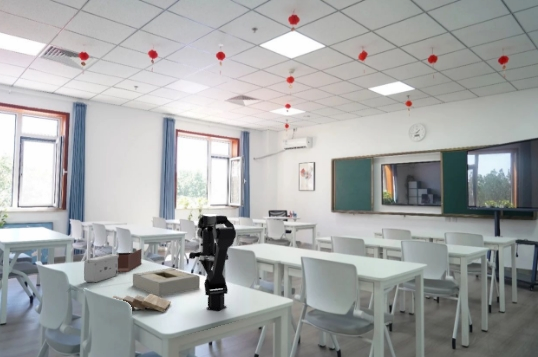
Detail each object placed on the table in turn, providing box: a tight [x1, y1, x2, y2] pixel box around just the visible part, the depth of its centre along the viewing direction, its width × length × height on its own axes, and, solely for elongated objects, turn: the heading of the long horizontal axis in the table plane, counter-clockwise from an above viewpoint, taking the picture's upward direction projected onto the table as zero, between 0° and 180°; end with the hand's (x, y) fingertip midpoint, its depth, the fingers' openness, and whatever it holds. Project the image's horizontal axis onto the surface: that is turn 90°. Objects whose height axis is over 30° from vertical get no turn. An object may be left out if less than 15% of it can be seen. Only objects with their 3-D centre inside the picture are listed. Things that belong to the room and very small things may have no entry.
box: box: [132, 267, 201, 297], centre depth 197 cm, size 23×8×32 cm
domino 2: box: [123, 295, 147, 311], centre depth 158 cm, size 2×5×10 cm
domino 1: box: [112, 295, 135, 311], centre depth 157 cm, size 2×5×10 cm
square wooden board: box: [142, 293, 172, 313], centre depth 158 cm, size 2×10×10 cm
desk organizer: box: [115, 248, 143, 273], centre depth 251 cm, size 10×29×11 cm, turn 3°
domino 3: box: [133, 294, 156, 311], centre depth 158 cm, size 2×5×10 cm
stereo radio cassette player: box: [83, 247, 119, 283], centre depth 217 cm, size 21×8×20 cm, turn 164°
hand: (208, 274), depth 170 cm, fingers closed
